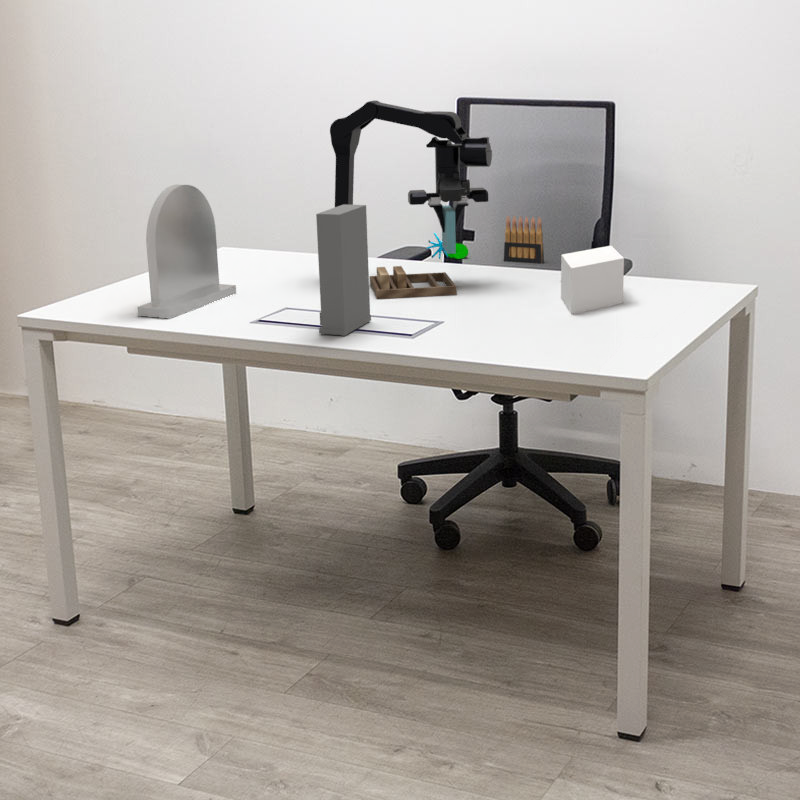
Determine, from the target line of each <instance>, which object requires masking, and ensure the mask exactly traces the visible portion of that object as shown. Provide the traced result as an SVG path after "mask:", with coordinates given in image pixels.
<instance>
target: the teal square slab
mask: <svg viewBox="0 0 800 800" xmlns="http://www.w3.org/2000/svg"><path fill="white" fill-rule="evenodd" d="M443 217H444V224H445V233H443V231H442V230H441V242H442V247H443V248H444V250H445V251H446V252H447V254H454V253H456V242H457V241H456V240H457V239H456V238H457V237H456V229H455V211H454V210H453V206H451V205H448V204H447V205H443Z"/></svg>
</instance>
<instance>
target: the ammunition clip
mask: <svg viewBox="0 0 800 800" xmlns="http://www.w3.org/2000/svg"><path fill="white" fill-rule="evenodd" d="M511 221H512V223H511ZM530 221H531V222H530ZM530 221H529V218H528V216H525V219H524V223H523V218H522V216H519V218H518V223H517V219H516V215H513V216H512V220H511V217H510V215H507V216H506V219H505V231H504V244H503V245H504V247H503V248H504V249H503V261H504V262H507V263H508V262H513V263H523V264H524V263H525V264H540V265H541V264H544V263H545V257H544V255H545V253H544V241H543V238H544V236H543V228H542V227H543V225H542V220H541V217H540V216H539V217H538V219H537V223H536V220H535V217H534V216H532V217H531V220H530ZM536 224H537V225H536ZM511 225H512V226H511Z"/></svg>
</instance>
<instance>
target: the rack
mask: <svg viewBox="0 0 800 800" xmlns="http://www.w3.org/2000/svg"><path fill="white" fill-rule="evenodd" d="M438 282H443V283H444V285H445V284H446V285H445V286H440V285H439V283H438ZM413 283H415V284H416V283H428V285H429V286H428V287H426V286H425V287H424V286H423V287H414V286H413ZM389 284H390V289H384V290H380V289H379V287H378V285H377V275H369V286H370V287H371V290H372V291H373V294H374V295H375V298H376V300H385V299H386V300H387V299H388V300H389V299H401V298H402V299H403V298H407V299H408V298H420V297H421V298H422V297H441V296H442V297H443V296H457V294H458V293H457V292H458V289H457V285H456V283H454V281H453V280H452V278H450V276H449V274H448V273H446V272H445V271H444V272H427V273H426V272H425V273H423V272H422V273H406V285H407V288H404V289H397V288H396V286H395V284H394V280H393V274H389Z"/></svg>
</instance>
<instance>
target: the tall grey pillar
mask: <svg viewBox="0 0 800 800" xmlns="http://www.w3.org/2000/svg"><path fill="white" fill-rule="evenodd" d="M315 214H316V232H317V233H316V234H317V235H316V236H317V257H318V275H319V277H318V278H319V280H318V281H319V298H320V312H319V326H320V327H319V328H318V333H319V334H320V335H322V336H324V335H333V336H334V335H335V336H341V337H346V336H347V335H349V334H350V333H352V332H354V331H355V330H357V329H358V328H360V327H362V326H364V325H365V324H367V323H370V321H372V315H371V306H370V305H371V304H370V303H371V302H370V275H369V273H370V272H369V252H368V251H369V250H368V249H369V247H368V244H369V243H368V220H367V216H368V215H367V204H353V205H345V204H343V205H341V206H338V207H335V206H334V207H333V208H329V209H327V210H324V211H321V212H318V213H315Z"/></svg>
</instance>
